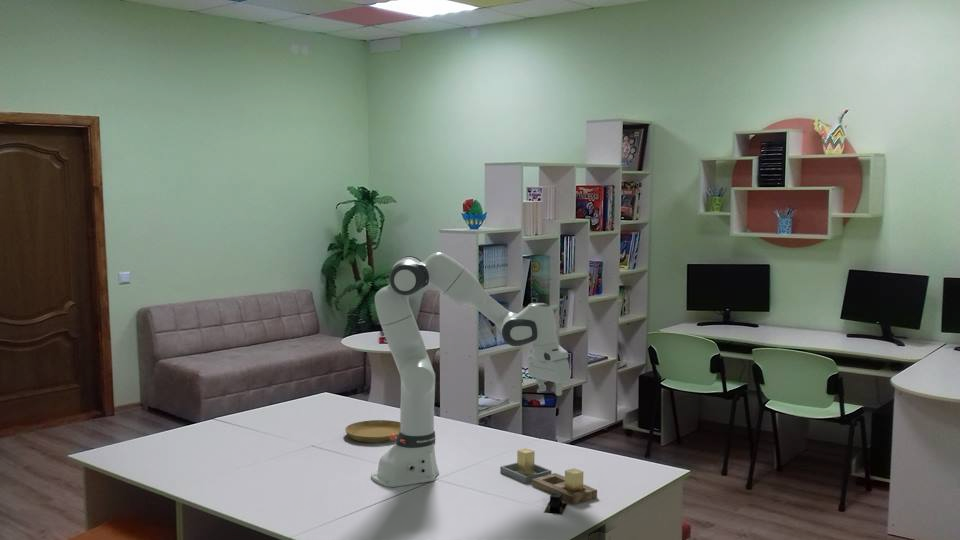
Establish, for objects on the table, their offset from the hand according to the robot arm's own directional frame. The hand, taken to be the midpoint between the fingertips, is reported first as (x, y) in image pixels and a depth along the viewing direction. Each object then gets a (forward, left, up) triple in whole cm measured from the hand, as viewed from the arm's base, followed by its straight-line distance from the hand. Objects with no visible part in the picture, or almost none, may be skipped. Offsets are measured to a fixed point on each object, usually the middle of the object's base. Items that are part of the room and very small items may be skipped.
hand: (550, 393), depth 273 cm
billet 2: (-7, -19, -28) cm, 34 cm away
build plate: (-18, -23, -28) cm, 41 cm away
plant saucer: (-24, +73, -28) cm, 82 cm away
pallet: (-7, -15, -28) cm, 32 cm away
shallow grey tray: (-7, +4, -28) cm, 29 cm away
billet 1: (-7, +4, -27) cm, 28 cm away
